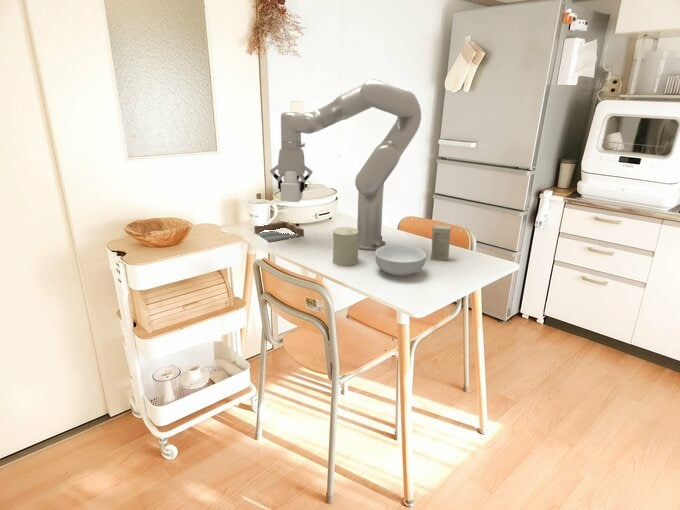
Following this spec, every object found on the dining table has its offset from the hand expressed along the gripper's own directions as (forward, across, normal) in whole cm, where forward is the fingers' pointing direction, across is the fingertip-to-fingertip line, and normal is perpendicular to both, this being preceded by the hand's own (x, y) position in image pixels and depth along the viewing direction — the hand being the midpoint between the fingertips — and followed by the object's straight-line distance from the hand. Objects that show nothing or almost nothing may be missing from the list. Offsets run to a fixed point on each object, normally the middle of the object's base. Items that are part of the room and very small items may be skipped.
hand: (291, 191), depth 174 cm
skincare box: (+19, -57, +20) cm, 63 cm away
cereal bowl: (+20, -40, +33) cm, 56 cm away
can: (+20, -22, +24) cm, 38 cm away
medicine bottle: (+4, 0, 0) cm, 4 cm away
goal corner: (+21, +6, -7) cm, 23 cm away
